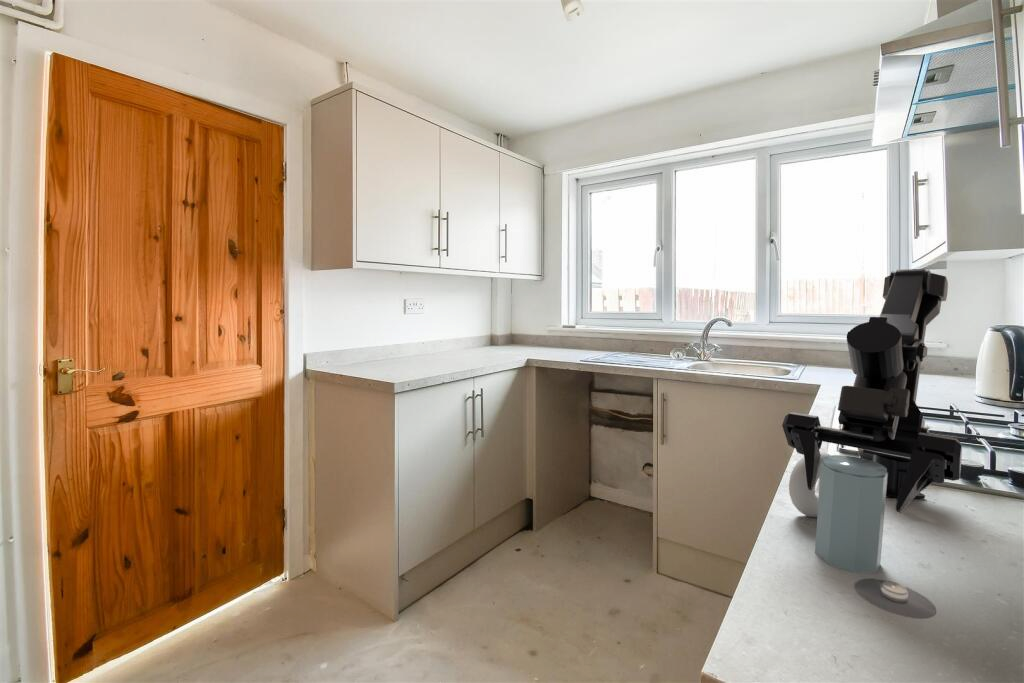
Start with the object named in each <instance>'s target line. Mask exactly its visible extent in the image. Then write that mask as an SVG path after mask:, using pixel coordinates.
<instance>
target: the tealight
mask: <svg viewBox="0 0 1024 683" xmlns="http://www.w3.org/2000/svg"><path fill="white" fill-rule="evenodd" d="M905 587H906V586H905ZM905 587H904V585H903V584H900V583H897V582H895V581H891V580H890V581H889V580H885V581H884V582H883V583H882V584H881V587H880V594H881V596H882V597H884V598H885V599H887V600H889V601H892V602H895V603H899V604H906V603H907V602H908V591H907V589H906V588H905Z"/></svg>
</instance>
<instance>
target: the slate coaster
mask: <svg viewBox="0 0 1024 683" xmlns="http://www.w3.org/2000/svg"><path fill="white" fill-rule="evenodd" d="M884 581H886V580H884V579H880V578H862V579H859V580H857V581H856V582H855V583H854V589H855V591H856V593H858V595H859V596H860V597H862V599H864V600H865V601H867V602H868V603H870V604H872V605H873V606H876V607H877V608H879V609H881V610H883V611H886V612H889V613H891V614H895V615H897V616H901V617H906V618H911V619H928V618H932V617H934V616H935V614H936V613H937V609H936V606H935V604H933V602H932V601H930V600H929V599H928V598H927V597H926V596H924V595H923V594H921V593H919V592H918V591H916V590H914V589H912V588H910V587H907V586H904V585H903V586H904V587H905V588H906V589H907V591H908V602H907V603H906V604H899V603H895V602H892V601H889V600H887V599H885V598H884V597H882V596H881V594H880V587H881V584H882V583H883V582H884Z"/></svg>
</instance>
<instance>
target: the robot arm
mask: <svg viewBox="0 0 1024 683" xmlns="http://www.w3.org/2000/svg"><path fill="white" fill-rule="evenodd" d="M948 286H949V281H948V279H947V276H945V275H941V274H937V273H933V272H932V271H931V270H929V269H928V270H926V268H912V269H911V268H908V269H896V270H894V271H893V270H891V272H890V275H888V276H885V277H884V283H883V291H882V298H883V299H884V304H883V305H882V306H883V307H882V309H881V312H880V314H879V316H869V319H868V321H867V322H864V323H863V322H862V323H860V324H857V325H856V326H853V328H851V329H850V331H848V332H847V334H846V343H847V348H848V354H849V360H850V365H851V370H852V372H853V374H855V379H854V382H853V385H842V386H841V391H840V394H839V401H838V406H837V411H839V415H838V418H837V420H838V424H839V425H841V426H842V427H841V429H838V428H833V427H828V426H822V425H821V422H820V418H819V416H818V415H812V414H805V413H800V412H793V411H792V412H790V413H788V414H786V415H784V419H783V422H782V424H781V427H782V428H783V429H782V430H783V432H784V435H785V438H786V441H787V445H788V446H789V447H791V448H792V449H795V450H796V452H797V454H800V455H803V457H804V459H805V468H806V478H807V486H808V489H809V490H812V489H813V487H814V484H815V481H816V476H817V471H818V466H819V461H820V456H821V455H820V452H821V451H820V449H821V448H822V445H823V443H824V442H825V443H828V444H829V443H830V444H836V445H841V446H845V447H851V448H857V449H859V450H862V453H863V454H869V455H872V461H874V462H876V463H879V464H881V465H883V466H885V467H886V469H887V471H886V472H888V477H887V489H886V497H891V498H896V504H895V505H896V506H895V512H896V513H899V514H901V513H903V511H904V510H905V509H906V508H907V506H909V504H910V503H911V502H912V501H913V500H914V499H925V498H926V495H925V494H924V493H922V491H924V490H925V489H926V488H928V487H929V486H930V485H932V484H933V483H936V484H944V483H945V480H948V481H952V482H953V481H959V480H960V477H961V470H962V460H963V459H962V458H963V454H962V453H963V444H962V442H961V441H960V440H958V438H957V437H951V436H947V435H946V436H945V435H939V434H938V435H937V434H934V433H930V429H929V428H927V427H925V426H926V421H925V418H924V415H923V414H922V412H921V410H920V408H919V407H918V404H917V396H918V394H917V393H918V389H919V388H918V387H919V382H920V381H919V380H920V373H921V365H922V362H923V361H924V358H926V357H927V356H928V347H927V346H926V345H925V344H926V342H925V336H926V329H927V326H928V325H929V324H930V323H931V322H932V321H933V320H934V319H935V318H936V317H937V316H938V315H939V314H940V312H941V308H942V302H946V301H947V299H948V288H949V287H948Z"/></svg>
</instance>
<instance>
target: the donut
mask: <svg viewBox="0 0 1024 683" xmlns="http://www.w3.org/2000/svg"><path fill="white" fill-rule="evenodd" d="M820 455H821V456H820V461H819V466H818V471H817V476H816V481H815V484H814V487H813V489H812V490H809V489H808V486H807V478H806V468H805V459H804V456H802V457H801V458H800V459H799V460H798V461H797V462H796V464H795V465H794V466H793V468H792V470H791V472H790V475H789V480H788V493H789V497H790V500H791V503H792V505H793V506H794V507H795V508H796V510H797V512H799V513H800V514H802V515H805V516H807V517H809V518H817V515H818V501H819V487H820V472H821V464H822V463H823V459H824V457H826V456H830V455H831V454H829V453H827V452H823V451H820ZM816 484H817V486H816Z"/></svg>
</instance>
